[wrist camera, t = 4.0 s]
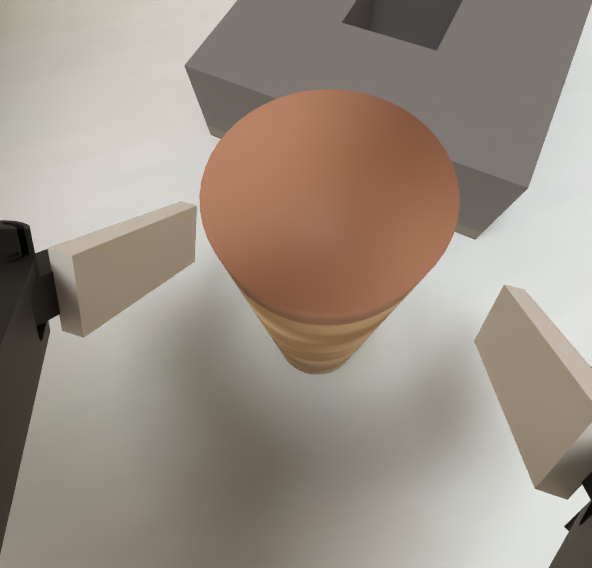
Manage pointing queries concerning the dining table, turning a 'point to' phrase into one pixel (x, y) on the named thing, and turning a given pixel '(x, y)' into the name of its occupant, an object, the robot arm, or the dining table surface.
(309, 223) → the oak peg
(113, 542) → the dining table surface
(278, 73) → the socket block
